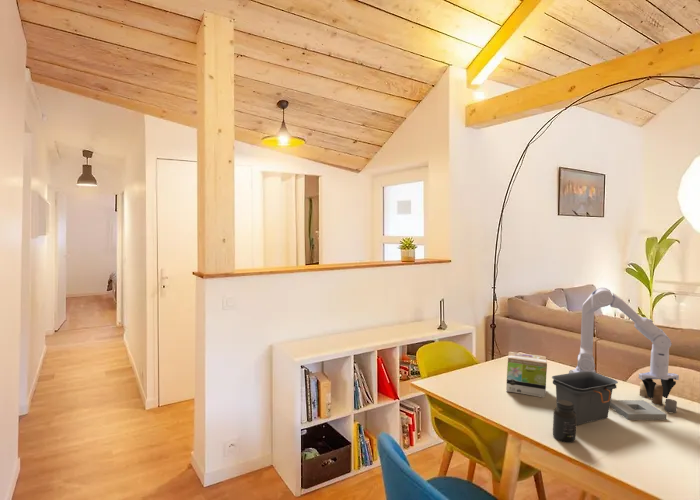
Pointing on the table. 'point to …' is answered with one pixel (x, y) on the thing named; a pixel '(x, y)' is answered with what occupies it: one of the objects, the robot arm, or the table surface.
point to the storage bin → (586, 394)
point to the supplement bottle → (564, 421)
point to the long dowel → (658, 395)
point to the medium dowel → (643, 390)
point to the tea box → (526, 374)
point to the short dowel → (670, 405)
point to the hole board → (642, 413)
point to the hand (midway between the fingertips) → (657, 397)
